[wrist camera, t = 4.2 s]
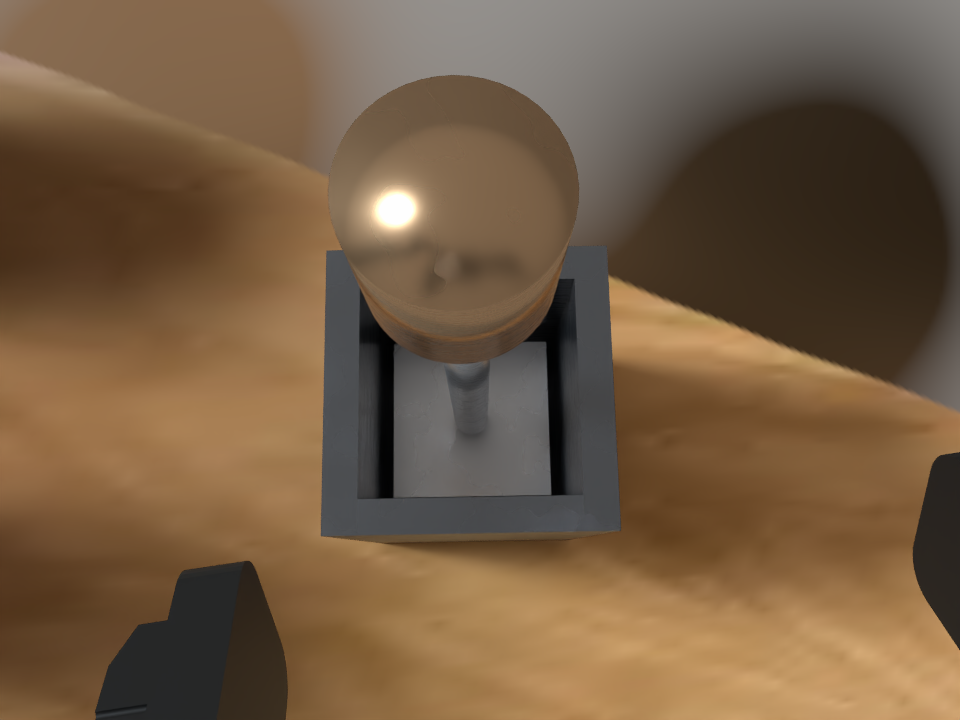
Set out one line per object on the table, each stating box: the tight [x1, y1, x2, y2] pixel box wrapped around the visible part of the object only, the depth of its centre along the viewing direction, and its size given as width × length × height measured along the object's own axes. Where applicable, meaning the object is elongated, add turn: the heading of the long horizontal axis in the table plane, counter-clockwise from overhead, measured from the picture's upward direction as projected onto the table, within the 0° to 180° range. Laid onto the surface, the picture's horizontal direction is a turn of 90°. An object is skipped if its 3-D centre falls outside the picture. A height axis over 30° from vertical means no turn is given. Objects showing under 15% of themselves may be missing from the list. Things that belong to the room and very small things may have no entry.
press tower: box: [321, 246, 621, 543], centre depth 40 cm, size 10×10×18 cm
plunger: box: [328, 75, 579, 498], centre depth 27 cm, size 7×7×26 cm
